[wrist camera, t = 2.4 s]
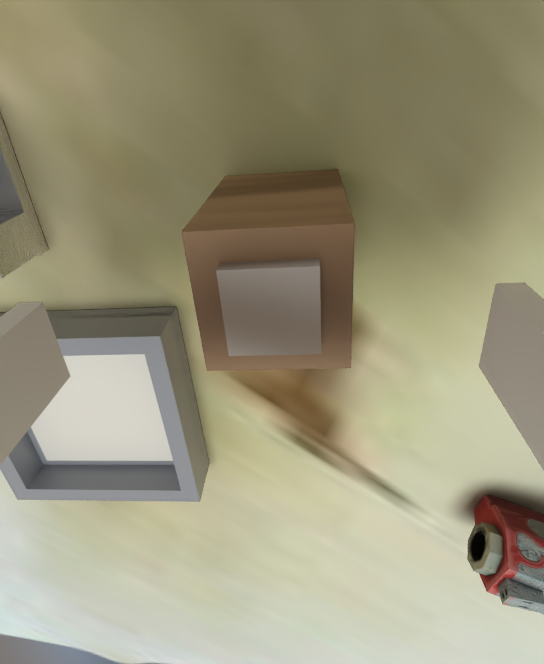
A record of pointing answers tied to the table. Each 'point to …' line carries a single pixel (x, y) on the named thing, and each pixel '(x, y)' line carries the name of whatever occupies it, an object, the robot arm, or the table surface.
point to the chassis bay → (115, 414)
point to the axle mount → (16, 213)
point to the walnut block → (273, 272)
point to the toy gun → (509, 552)
